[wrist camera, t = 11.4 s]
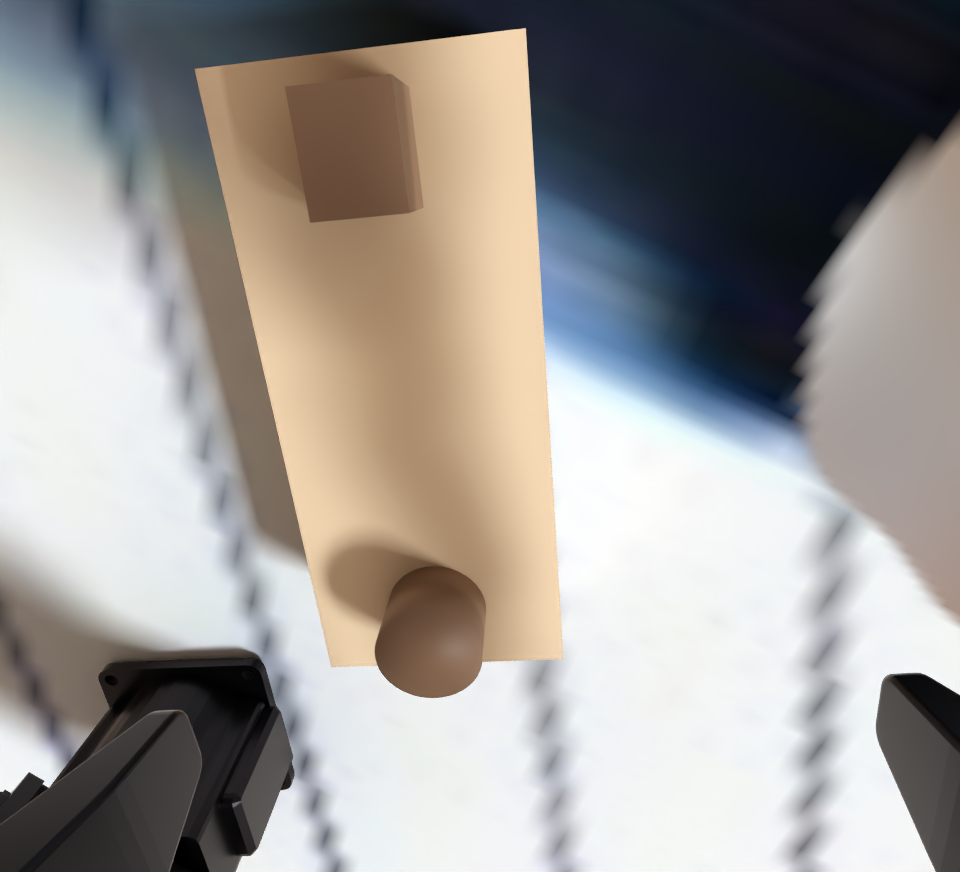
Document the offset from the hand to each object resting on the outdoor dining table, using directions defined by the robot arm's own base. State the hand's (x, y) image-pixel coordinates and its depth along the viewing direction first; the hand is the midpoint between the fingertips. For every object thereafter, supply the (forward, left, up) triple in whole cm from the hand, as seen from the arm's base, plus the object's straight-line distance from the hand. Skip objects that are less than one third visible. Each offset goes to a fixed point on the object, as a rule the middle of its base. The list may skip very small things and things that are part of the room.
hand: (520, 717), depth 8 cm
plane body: (-3, +1, -13) cm, 13 cm away
